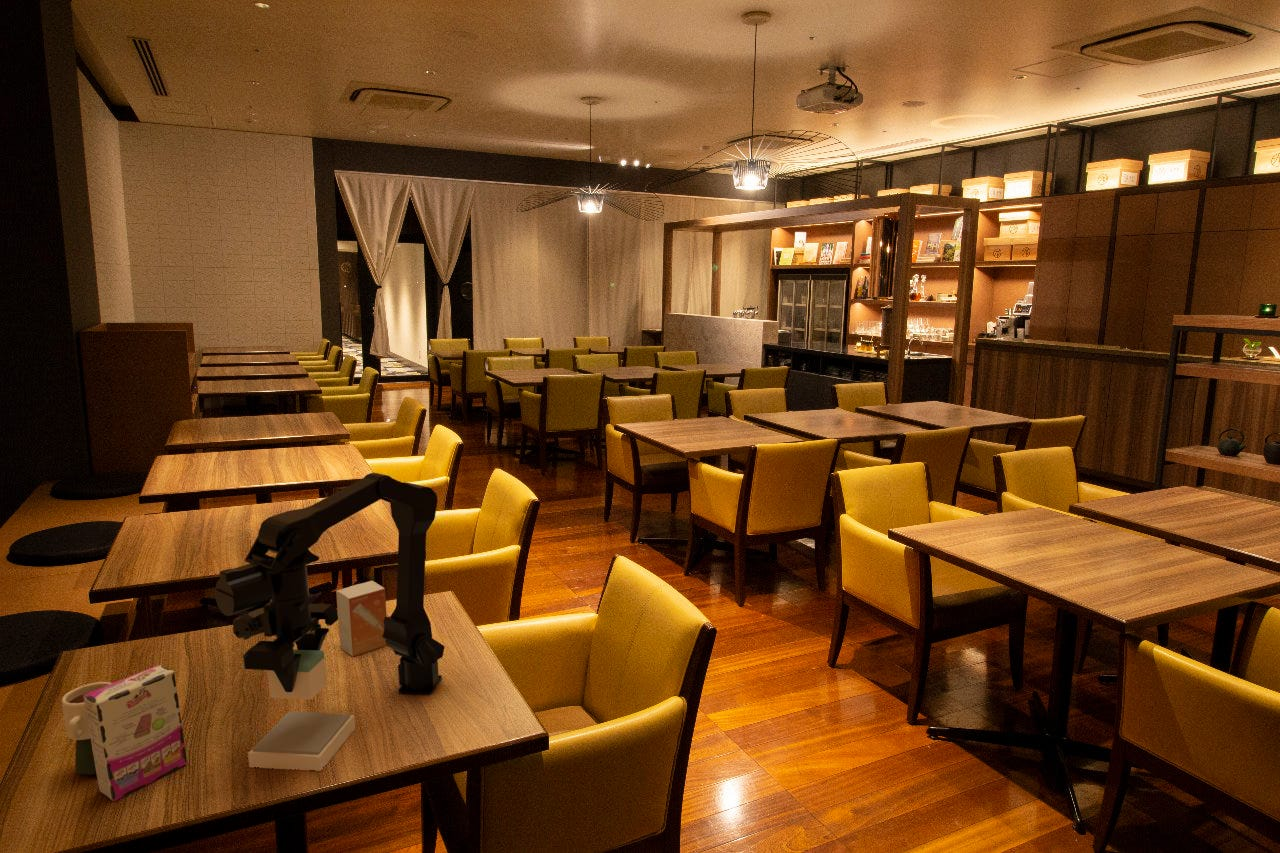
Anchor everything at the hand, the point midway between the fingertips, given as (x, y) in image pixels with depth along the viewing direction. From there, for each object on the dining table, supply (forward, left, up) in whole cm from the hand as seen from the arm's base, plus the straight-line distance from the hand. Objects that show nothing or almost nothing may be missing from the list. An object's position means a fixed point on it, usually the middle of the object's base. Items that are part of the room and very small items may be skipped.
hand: (298, 683), depth 128 cm
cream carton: (0, 0, -1) cm, 1 cm away
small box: (+6, -36, -12) cm, 38 cm away
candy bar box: (+21, +10, -12) cm, 26 cm away
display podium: (0, 0, -12) cm, 12 cm away
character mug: (+30, +8, -12) cm, 33 cm away
